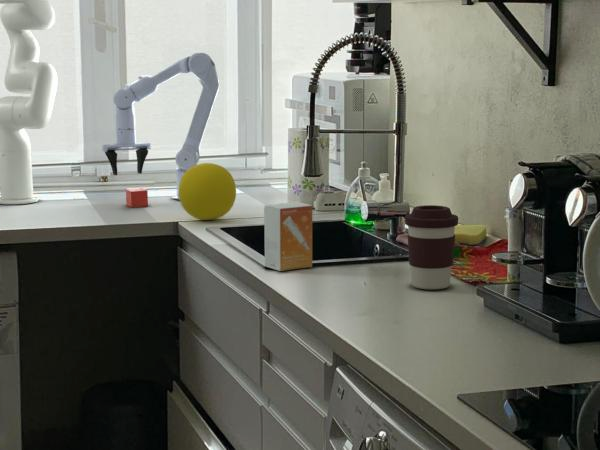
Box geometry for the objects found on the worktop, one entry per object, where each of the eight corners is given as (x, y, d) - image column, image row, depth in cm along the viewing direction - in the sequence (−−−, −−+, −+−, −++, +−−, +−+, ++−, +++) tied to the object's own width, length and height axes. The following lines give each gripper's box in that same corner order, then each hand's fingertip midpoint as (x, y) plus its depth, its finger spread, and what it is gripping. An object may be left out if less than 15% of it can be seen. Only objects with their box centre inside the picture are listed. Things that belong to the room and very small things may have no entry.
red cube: (148, 206, 304) (147, 190, 303) (131, 207, 302) (130, 191, 301) (142, 204, 308) (142, 188, 307) (126, 205, 306) (125, 189, 305)
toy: (226, 213, 288) (225, 159, 285) (243, 221, 274) (242, 164, 271) (173, 217, 282) (171, 161, 280) (187, 225, 268) (186, 167, 266)
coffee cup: (400, 280, 202) (400, 204, 200) (450, 279, 203) (451, 203, 201) (409, 292, 193) (410, 212, 190) (462, 291, 193) (463, 211, 191)
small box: (280, 271, 212) (279, 208, 209) (264, 266, 217) (263, 204, 215) (313, 267, 216) (313, 204, 214) (296, 262, 221) (296, 201, 219)
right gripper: (144, 127, 321) (146, 171, 324) (98, 129, 315) (100, 174, 317) (152, 128, 315) (153, 173, 317) (105, 130, 309) (106, 176, 311)
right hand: (127, 174), depth 317 cm, fingers open, 7 cm apart
